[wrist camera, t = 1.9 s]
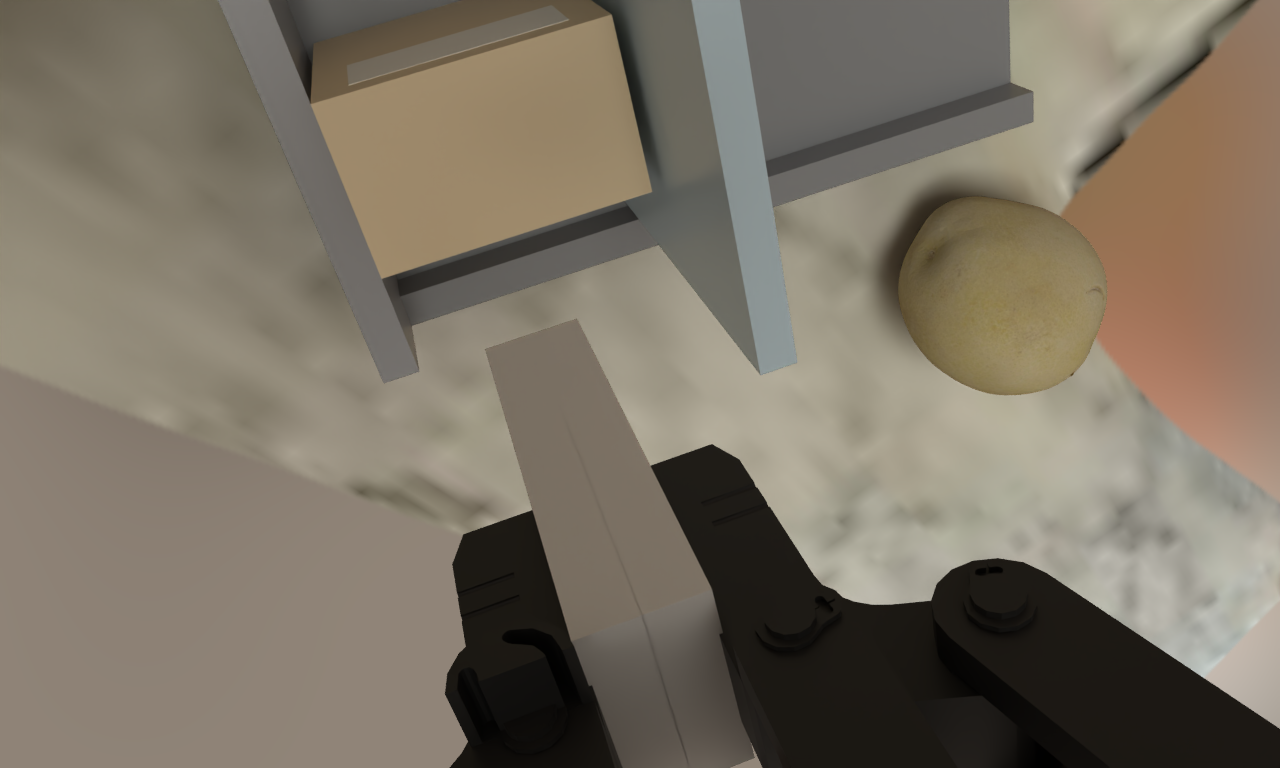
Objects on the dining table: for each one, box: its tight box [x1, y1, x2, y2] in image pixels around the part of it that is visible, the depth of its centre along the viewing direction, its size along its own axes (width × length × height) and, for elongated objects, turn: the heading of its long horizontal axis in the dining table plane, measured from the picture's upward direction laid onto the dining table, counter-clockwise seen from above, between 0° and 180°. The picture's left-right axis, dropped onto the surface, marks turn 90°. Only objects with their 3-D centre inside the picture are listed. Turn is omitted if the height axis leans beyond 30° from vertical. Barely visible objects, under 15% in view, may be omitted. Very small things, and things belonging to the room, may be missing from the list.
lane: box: [218, 0, 1033, 383], centre depth 33 cm, size 14×26×6 cm, turn 104°
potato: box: [898, 196, 1107, 395], centre depth 40 cm, size 8×8×8 cm
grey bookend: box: [592, 0, 797, 375], centre depth 28 cm, size 11×4×14 cm, turn 14°
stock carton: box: [311, 0, 652, 279], centre depth 30 cm, size 5×8×8 cm, turn 104°
